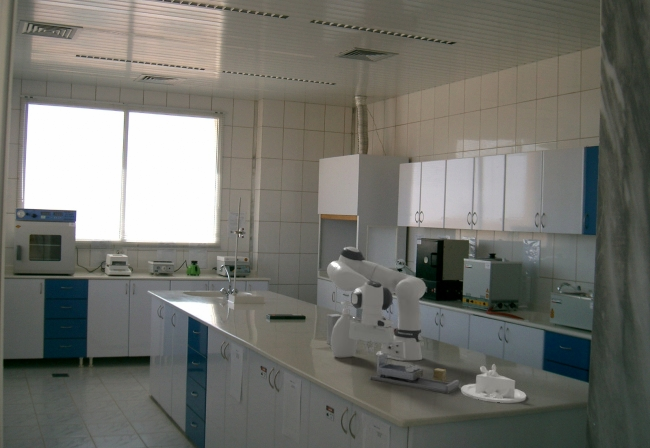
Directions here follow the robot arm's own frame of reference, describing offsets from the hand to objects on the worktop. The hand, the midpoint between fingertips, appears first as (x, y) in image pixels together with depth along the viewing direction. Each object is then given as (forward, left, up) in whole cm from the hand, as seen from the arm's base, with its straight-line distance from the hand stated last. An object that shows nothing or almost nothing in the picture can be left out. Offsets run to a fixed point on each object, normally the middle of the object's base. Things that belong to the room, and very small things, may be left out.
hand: (370, 352), depth 281 cm
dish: (+52, +6, -10) cm, 53 cm away
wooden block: (+27, +13, -10) cm, 31 cm away
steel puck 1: (+19, -2, -6) cm, 20 cm away
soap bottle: (-27, +26, -10) cm, 39 cm away
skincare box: (-45, +49, -10) cm, 67 cm away
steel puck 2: (+19, +2, -6) cm, 20 cm away
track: (+21, 0, -10) cm, 23 cm away
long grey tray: (+14, 0, -9) cm, 17 cm away
